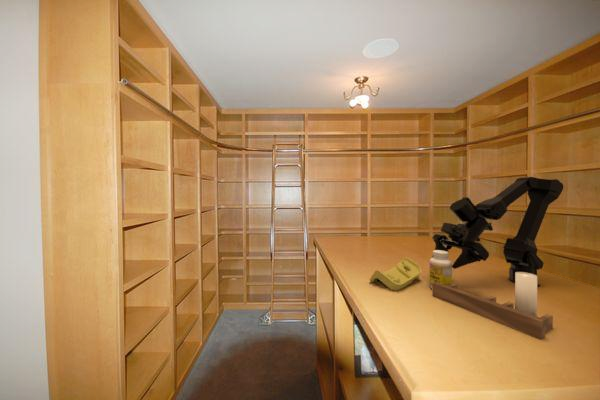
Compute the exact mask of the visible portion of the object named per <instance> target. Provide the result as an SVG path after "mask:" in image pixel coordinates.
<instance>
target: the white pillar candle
mask: <svg viewBox="0 0 600 400" xmlns="http://www.w3.org/2000/svg"><path fill="white" fill-rule="evenodd" d="M537 283H538V274H537V275H534V274H531V273H526V272H515V282H514V285H515V286H514V290H515V291H514V293H515V295H514V309H516V310H519V311H522V312H525V313H528V314H531V315H534V316H537V317H538V286H537Z"/></svg>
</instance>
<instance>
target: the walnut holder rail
mask: <svg viewBox="0 0 600 400" xmlns="http://www.w3.org/2000/svg"><path fill="white" fill-rule="evenodd" d="M431 289H432V297H435V298H437V299H439V300H441V301H444V302H447V303H450V304H453V305H455V306H457V307H460V308H462V309H464V310H467V311H469V312H471V313H475V314H476V315H479V316H481V317H484V318H486V319H489V320H492V321H495V322H497V323H499V324H501V325H505V326H506V327H510V328H512V329H514V330H516V331H519V332H521V333H524V334H526V335H529V336H532V337H534V338H537V339H539V340H543V339H544V338H545V337H546V332H548V331H550V330H552V329H553V328H554V325H553V324H554V315H552V314H549V313H546V314H543V315H542V316H538V315H537V316H534V315H531V314H528V313H525V312H522V311H519V310H516V309H515V302H512V301H507V302H504V303H498V302H497V297H496V296H493V295H490V296H488V297H485V298H483V297H480V296H478V295H475V294H472V293H469V292H466V291H464V290H461V289H459V287H458V284H457V283H452V285H448V286H446V285H443V284H440V283H437V282H436V283H432V288H431Z"/></svg>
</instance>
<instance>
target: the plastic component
mask: <svg viewBox="0 0 600 400" xmlns="http://www.w3.org/2000/svg"><path fill="white" fill-rule="evenodd" d="M422 270H423V269H422V268H421V266H420V265H419V263H417V262H416V261H415V260H412V259H411V258H410V257H407V256H405V257H403V258H402V259H401V260H400V261H399V262H398V263H397V264H395V265H394V266H393V267H392V268H390V269H388V270H386V271H384V272H382V271H381V270H379V269H377V270H375V271H374V272H373V274H372V275H371V277H370V278H369V282H370V283H376V282H377V281H380V282H382V284H384V285H385V286H386V287H387V288H389V290H391V291H396V292H398V291H400V290H401V289H403V288H405V287H407V286H408V285H410V284H412V283H413V281H414V280H415V279H416V278H418V277H419V276H420V275H421V273H422Z"/></svg>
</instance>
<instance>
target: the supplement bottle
mask: <svg viewBox="0 0 600 400" xmlns="http://www.w3.org/2000/svg"><path fill="white" fill-rule="evenodd" d="M433 255H434V257H433ZM432 257H433V258H432ZM432 257H431V258H430V259H429V282H428V283H429V284H428V285H429V287H430V288H431V289H432V283H436V282H437V283H440V284H443V285H446V286H448V285H452V284H453V267H452V265H453V262H452V261H451V260H452V259H449V257H450V253H449V252H447V251H443V250H435V249H434V250H432Z"/></svg>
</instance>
